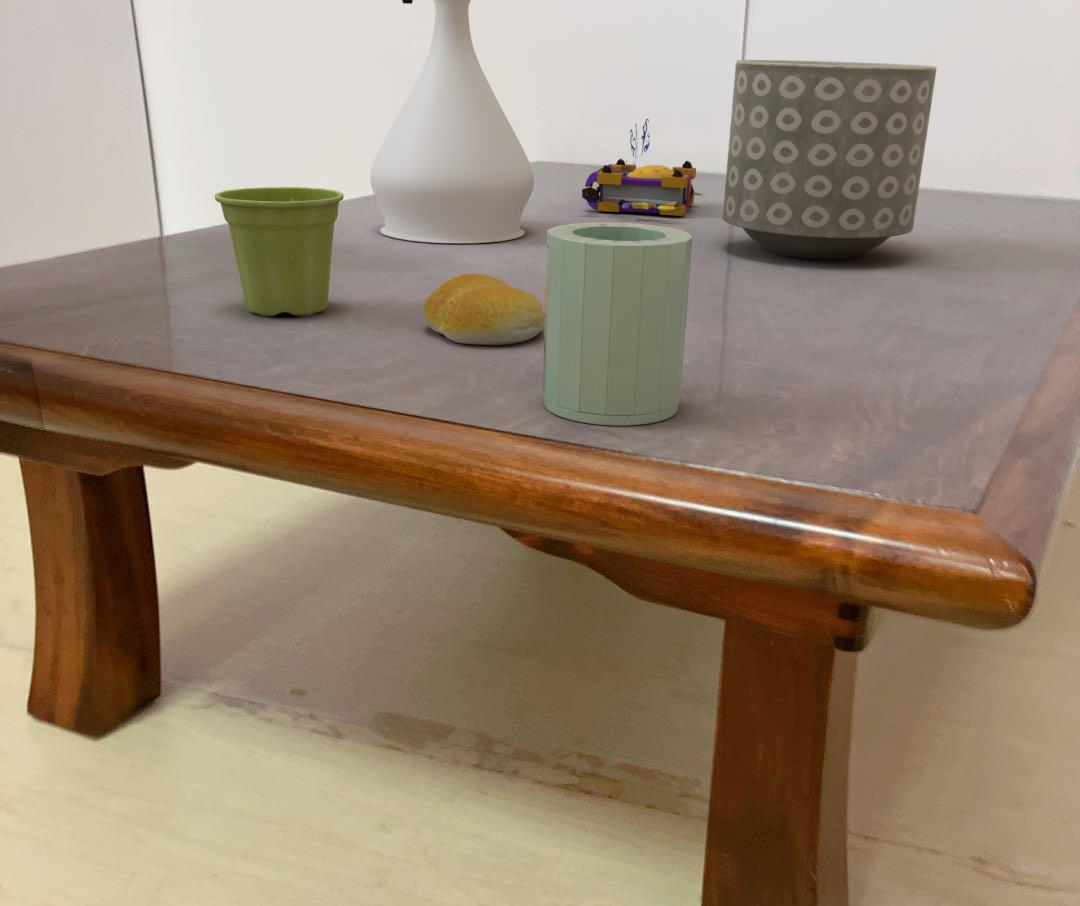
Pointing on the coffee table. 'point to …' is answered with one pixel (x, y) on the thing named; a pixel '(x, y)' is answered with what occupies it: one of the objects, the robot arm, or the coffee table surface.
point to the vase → (452, 150)
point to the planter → (826, 154)
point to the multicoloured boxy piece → (641, 187)
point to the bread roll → (483, 311)
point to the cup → (615, 321)
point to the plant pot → (282, 246)
